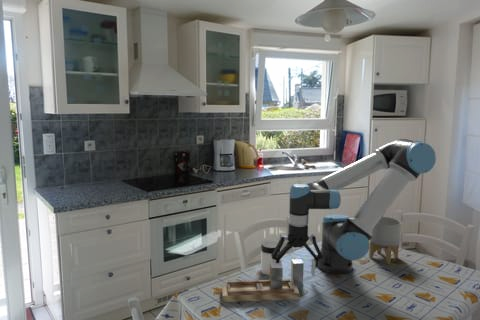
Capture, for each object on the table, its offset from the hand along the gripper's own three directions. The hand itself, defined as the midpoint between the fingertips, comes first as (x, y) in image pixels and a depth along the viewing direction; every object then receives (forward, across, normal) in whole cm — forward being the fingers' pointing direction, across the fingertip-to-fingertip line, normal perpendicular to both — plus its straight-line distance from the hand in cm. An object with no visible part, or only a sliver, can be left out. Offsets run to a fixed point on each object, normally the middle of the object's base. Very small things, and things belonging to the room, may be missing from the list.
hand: (296, 275), depth 146 cm
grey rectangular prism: (+3, 0, 0) cm, 3 cm away
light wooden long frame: (+3, +16, +9) cm, 18 cm away
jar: (+3, +9, -11) cm, 14 cm away
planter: (+3, -46, -22) cm, 51 cm away
